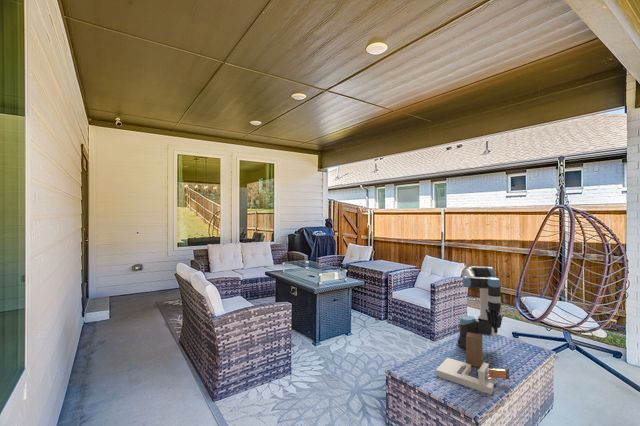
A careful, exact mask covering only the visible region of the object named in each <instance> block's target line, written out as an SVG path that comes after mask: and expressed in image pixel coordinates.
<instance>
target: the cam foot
mask: <svg viewBox="0 0 640 426" xmlns="http://www.w3.org/2000/svg"><path fill="white" fill-rule="evenodd" d="M478 370H479V369H477V371H476V372H477V373H478ZM509 371H510V369H508V368H505V369H502V368H501V369H500V368H489V367H488V369H487V371H486V372H485V381H487V382H490V383H493V384H494V386H496V385H497V379H505V380H509V379H510V377H509V375H510V374H509V373H510V372H509Z"/></svg>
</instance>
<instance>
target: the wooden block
mask: <svg viewBox="0 0 640 426" xmlns="http://www.w3.org/2000/svg"><path fill="white" fill-rule="evenodd" d="M483 355H484V354H483V335H480V334H474V333H469V332H467V335H466V349H465V363H467V364H471V367H477V368H480V367H481V366H482V364H483V363H484V361H483V358H484V357H483Z"/></svg>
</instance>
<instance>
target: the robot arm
mask: <svg viewBox="0 0 640 426" xmlns="http://www.w3.org/2000/svg"><path fill="white" fill-rule="evenodd" d="M495 271H496V270H495V269H494V268H493V267H492V266H484V265H483V266H481V265H479V266H478V265H470V266H467V267H464V268H463V269H462V271H461V277H462V287H464V288H471V289H472V288H473V289H479V313H480V314H479V316H478V317H477V318H476V317H475V316H472V315H463V316H461V317H460V318H459V323H458V325H459V336H458V338H457V342H456V344H457V346H458V347H460V348H462V349H464V350H466V335H467V332H469V333H474V334H480V335H482V336H487V337H492V338H498V330H499V329H500V328H501V327H502V326H501V325H502V321H503V318H504V314H502V313H501V308H502V297H501V296H502V295H501V288H502V287H501V286H502V283H501V279H500V278H498V277H496V272H495Z"/></svg>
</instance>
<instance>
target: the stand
mask: <svg viewBox="0 0 640 426" xmlns="http://www.w3.org/2000/svg"><path fill="white" fill-rule="evenodd" d="M489 367H490V365H489V363H487V362H482V366H481V367H479V369H477V370H478V372H477V373H478V374H477V375H478V378H476V377H473V376H471V375H469V374H470V373H471V372H472V366H471V364H467V363H466V362H464V361H460V360H457V359H453V358H451V357H447V358H445V360H444V361H443V362H442V363H441V364H440V365H439V366H438V367H437V369H435V373H436V374H435V375H436V377H438V376H439V377H438V378H441V377H442V379H444V380H446V381H447V380H448V381H450V382H453V383H456V384H459V385H462V386H464V387H467V388H471V389H474V390H477V391H478V392H482V393H485V394H488V395H490V396H491V395H493V393H494V388H495V387H494V386H495V385H494V384H493V383H490V382H487V381H485V372H486V371H487V369H488V368H489Z"/></svg>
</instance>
